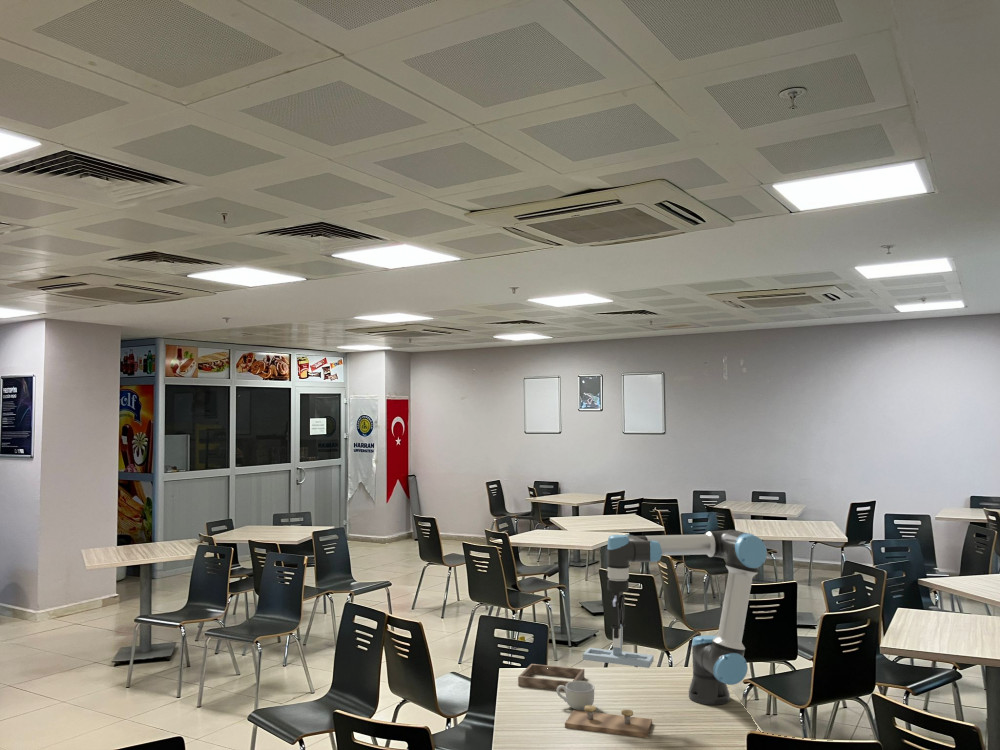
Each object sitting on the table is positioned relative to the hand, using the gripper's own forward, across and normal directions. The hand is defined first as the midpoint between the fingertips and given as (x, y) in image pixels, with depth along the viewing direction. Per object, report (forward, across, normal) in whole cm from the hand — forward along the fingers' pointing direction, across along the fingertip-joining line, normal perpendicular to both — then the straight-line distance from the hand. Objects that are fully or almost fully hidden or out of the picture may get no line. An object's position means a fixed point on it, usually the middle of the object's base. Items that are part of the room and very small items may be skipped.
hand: (617, 645), depth 275 cm
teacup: (+26, -6, -17) cm, 32 cm away
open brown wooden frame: (+26, -31, -34) cm, 52 cm away
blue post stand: (+5, 0, +1) cm, 5 cm away
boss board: (+25, +7, -2) cm, 26 cm away
